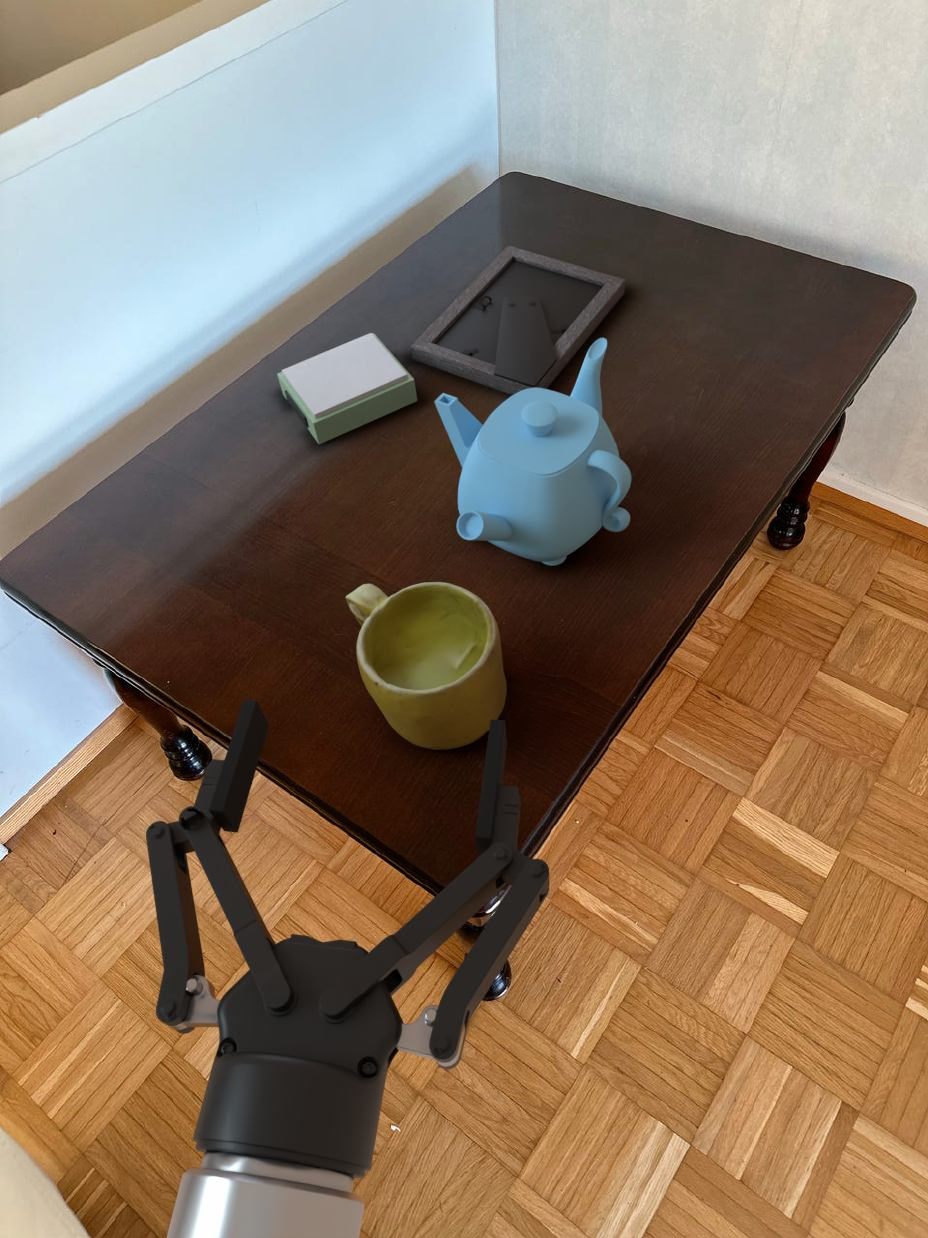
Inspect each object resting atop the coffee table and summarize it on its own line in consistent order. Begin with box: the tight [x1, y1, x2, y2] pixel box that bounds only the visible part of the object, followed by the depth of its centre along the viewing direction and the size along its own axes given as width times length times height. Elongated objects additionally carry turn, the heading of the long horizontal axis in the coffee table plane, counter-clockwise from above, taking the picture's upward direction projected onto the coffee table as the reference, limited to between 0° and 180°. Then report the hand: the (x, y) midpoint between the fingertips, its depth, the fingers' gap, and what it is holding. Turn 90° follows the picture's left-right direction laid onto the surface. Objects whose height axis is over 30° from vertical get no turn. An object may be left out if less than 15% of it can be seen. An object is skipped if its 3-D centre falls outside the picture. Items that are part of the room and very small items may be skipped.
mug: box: [345, 581, 508, 751], centre depth 62 cm, size 12×10×10 cm
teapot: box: [433, 337, 632, 567], centre depth 69 cm, size 15×14×11 cm
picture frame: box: [410, 245, 626, 396], centre depth 87 cm, size 13×2×18 cm
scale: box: [276, 332, 418, 445], centre depth 82 cm, size 10×8×3 cm
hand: (375, 721), depth 50 cm, fingers open, 13 cm apart
